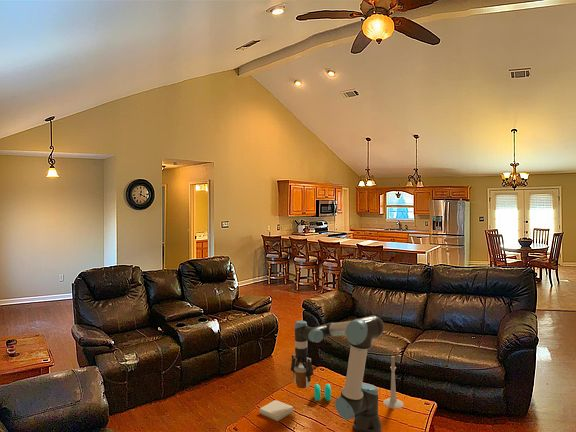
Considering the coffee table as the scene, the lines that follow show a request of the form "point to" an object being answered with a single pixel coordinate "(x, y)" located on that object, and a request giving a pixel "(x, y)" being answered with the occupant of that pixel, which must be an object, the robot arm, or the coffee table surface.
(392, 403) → the candlestick
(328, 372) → the coffee table surface
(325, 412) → the coffee table surface
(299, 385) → the disposable coffee cup
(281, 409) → the plinth
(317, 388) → the teal wheels on axle
